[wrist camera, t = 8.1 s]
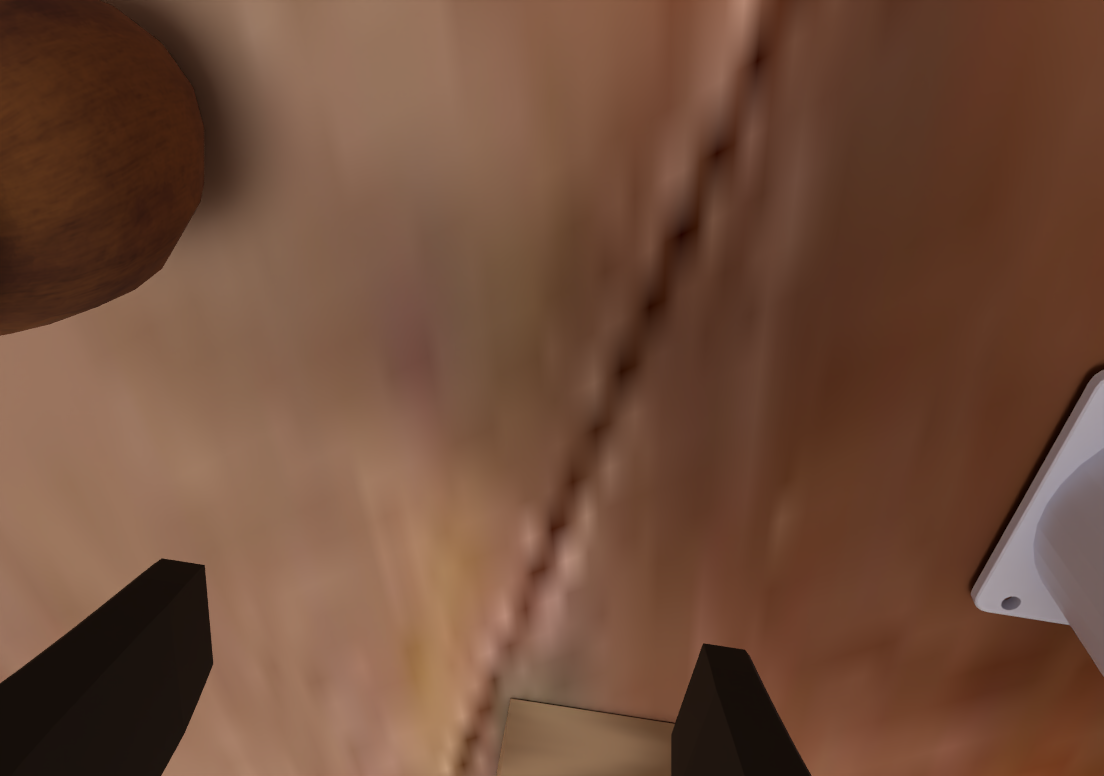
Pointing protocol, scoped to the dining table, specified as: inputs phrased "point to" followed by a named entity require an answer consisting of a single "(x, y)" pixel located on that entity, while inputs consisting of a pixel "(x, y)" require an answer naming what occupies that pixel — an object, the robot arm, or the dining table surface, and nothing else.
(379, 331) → the dining table surface
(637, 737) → the base block
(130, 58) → the wooden figurine
